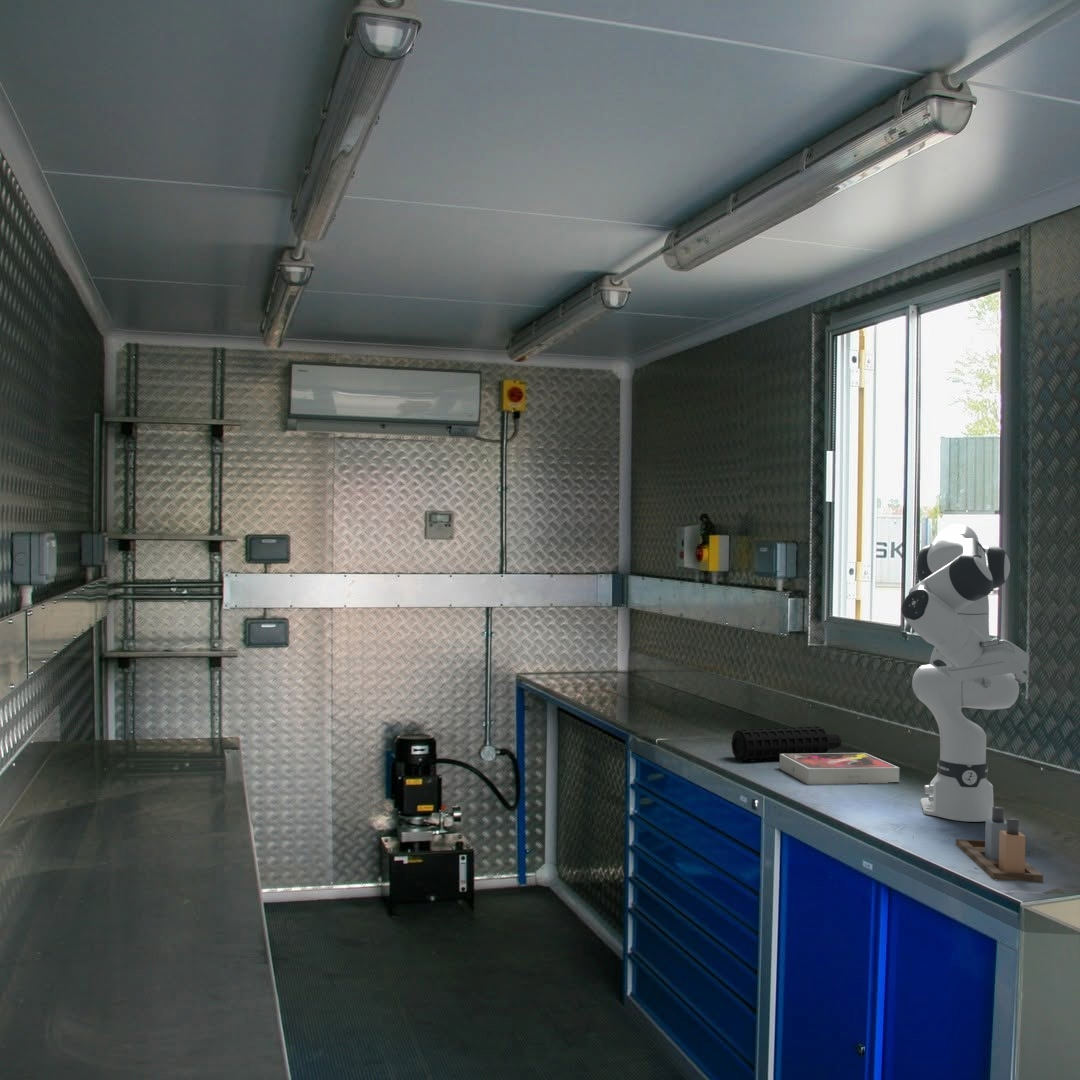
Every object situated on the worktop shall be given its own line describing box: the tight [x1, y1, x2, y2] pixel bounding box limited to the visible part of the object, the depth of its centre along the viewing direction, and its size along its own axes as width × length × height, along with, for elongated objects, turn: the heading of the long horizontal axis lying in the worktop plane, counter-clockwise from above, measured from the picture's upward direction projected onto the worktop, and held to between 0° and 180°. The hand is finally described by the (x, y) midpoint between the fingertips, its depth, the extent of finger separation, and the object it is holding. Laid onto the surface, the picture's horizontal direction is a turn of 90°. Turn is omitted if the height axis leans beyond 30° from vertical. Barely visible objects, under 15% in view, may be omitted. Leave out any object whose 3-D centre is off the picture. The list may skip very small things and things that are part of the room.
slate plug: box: [984, 806, 1007, 860], centre depth 241 cm, size 4×4×12 cm
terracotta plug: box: [999, 817, 1026, 873], centre depth 232 cm, size 4×4×12 cm
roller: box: [731, 726, 842, 763], centre depth 353 cm, size 38×10×10 cm, turn 109°
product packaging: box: [779, 752, 900, 785], centre depth 328 cm, size 22×28×5 cm
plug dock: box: [955, 838, 1044, 883], centre depth 241 cm, size 26×10×2 cm, turn 176°
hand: (1005, 683), depth 238 cm, fingers open, 8 cm apart
